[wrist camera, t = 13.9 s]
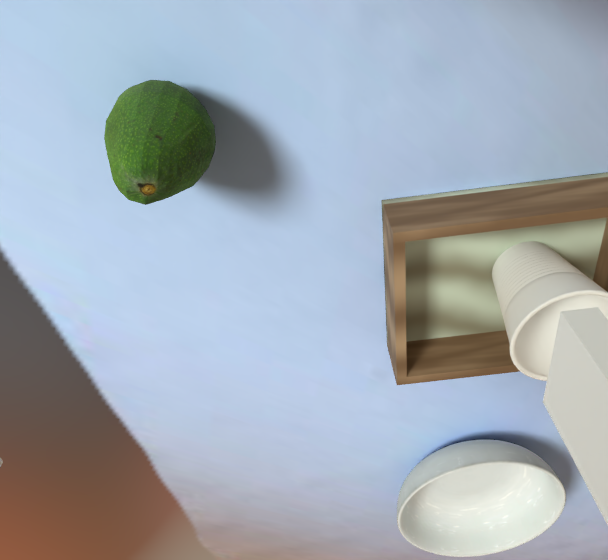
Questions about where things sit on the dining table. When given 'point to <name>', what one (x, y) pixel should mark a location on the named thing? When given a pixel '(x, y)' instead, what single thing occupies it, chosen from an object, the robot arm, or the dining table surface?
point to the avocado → (158, 141)
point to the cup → (539, 301)
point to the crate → (477, 267)
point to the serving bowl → (478, 499)
